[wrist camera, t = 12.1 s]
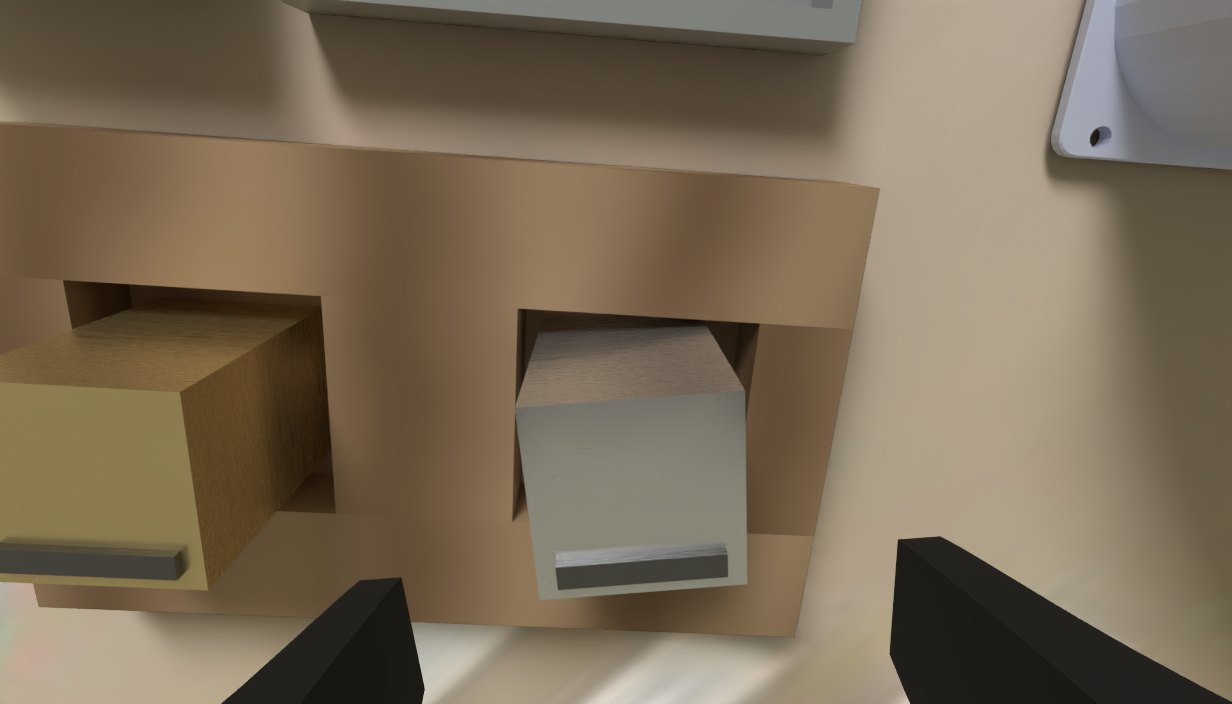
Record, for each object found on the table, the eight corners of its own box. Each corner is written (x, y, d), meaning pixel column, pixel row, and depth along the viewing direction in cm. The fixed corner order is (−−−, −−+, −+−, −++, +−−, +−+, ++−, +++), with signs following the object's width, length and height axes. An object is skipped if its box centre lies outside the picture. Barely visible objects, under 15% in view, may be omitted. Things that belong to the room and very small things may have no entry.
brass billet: (323, 306, 17) (172, 396, 11) (332, 447, 18) (202, 597, 12) (162, 297, 16) (-79, 382, 11) (183, 439, 18) (-24, 588, 12)
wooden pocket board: (839, 181, 17) (880, 188, 14) (771, 578, 20) (795, 637, 18) (24, 122, 16) (-79, 118, 13) (107, 549, 19) (38, 606, 17)
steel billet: (695, 307, 17) (747, 394, 11) (700, 445, 18) (749, 590, 12) (543, 318, 17) (513, 412, 11) (558, 456, 18) (538, 607, 12)
